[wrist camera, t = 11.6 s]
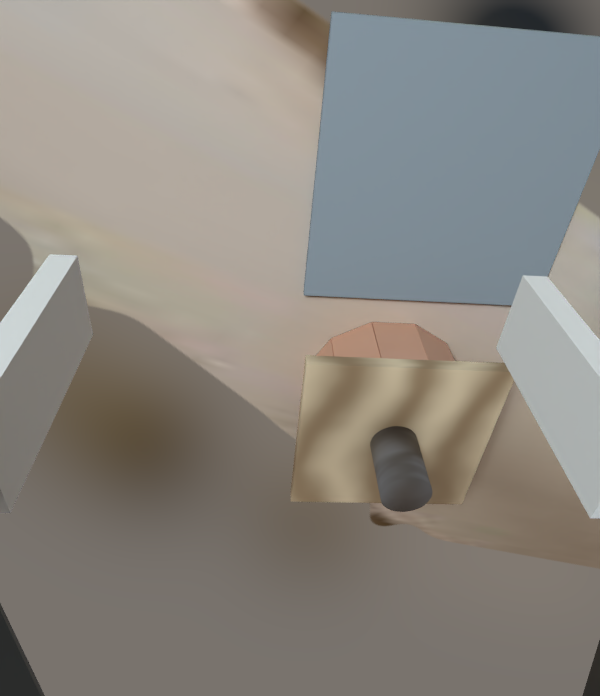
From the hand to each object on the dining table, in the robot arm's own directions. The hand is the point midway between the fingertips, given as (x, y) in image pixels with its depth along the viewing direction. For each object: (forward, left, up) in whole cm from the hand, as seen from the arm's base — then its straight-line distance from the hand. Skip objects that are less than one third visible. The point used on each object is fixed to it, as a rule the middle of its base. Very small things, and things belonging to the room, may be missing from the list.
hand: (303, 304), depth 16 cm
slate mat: (-14, +6, -29) cm, 32 cm away
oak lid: (-12, +28, -22) cm, 37 cm away
